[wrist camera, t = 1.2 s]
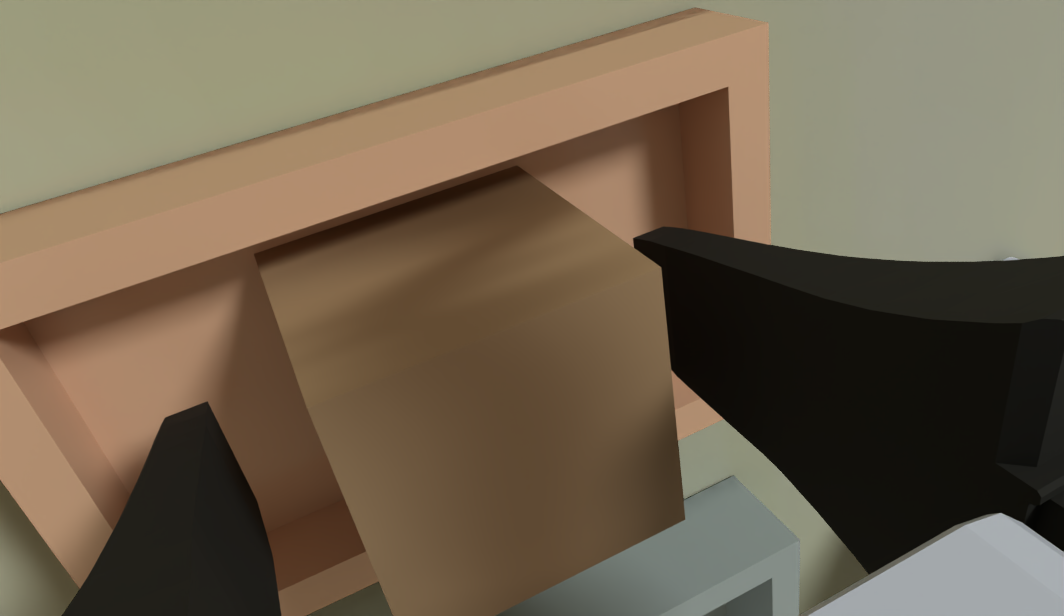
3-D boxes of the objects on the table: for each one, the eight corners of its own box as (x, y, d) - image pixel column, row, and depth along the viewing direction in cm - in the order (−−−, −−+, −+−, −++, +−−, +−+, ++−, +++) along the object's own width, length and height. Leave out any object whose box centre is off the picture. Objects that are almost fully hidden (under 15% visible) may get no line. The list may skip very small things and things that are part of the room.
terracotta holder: (695, 7, 14) (768, 22, 12) (715, 351, 18) (772, 396, 16) (-90, 241, 11) (-129, 303, 9) (149, 600, 15) (152, 688, 13)
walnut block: (516, 165, 13) (661, 266, 10) (557, 375, 16) (685, 519, 12) (253, 254, 12) (306, 407, 9) (340, 466, 15) (410, 657, 11)
